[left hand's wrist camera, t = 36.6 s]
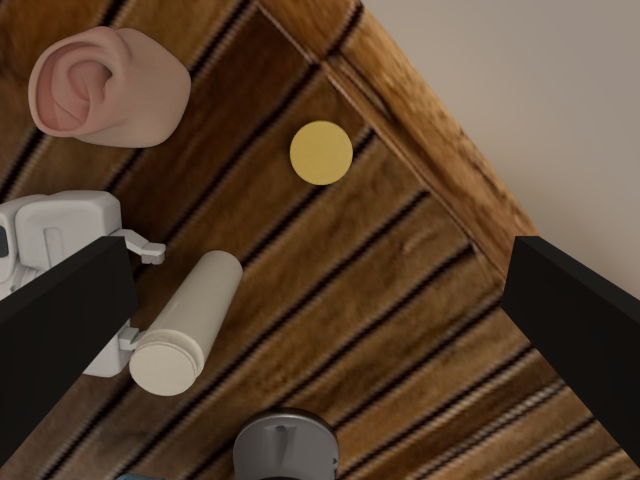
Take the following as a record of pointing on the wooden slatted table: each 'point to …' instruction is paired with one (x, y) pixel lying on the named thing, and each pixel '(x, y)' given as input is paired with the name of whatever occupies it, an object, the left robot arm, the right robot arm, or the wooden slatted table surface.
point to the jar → (186, 327)
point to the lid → (321, 152)
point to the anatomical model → (109, 89)
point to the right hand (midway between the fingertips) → (165, 295)
